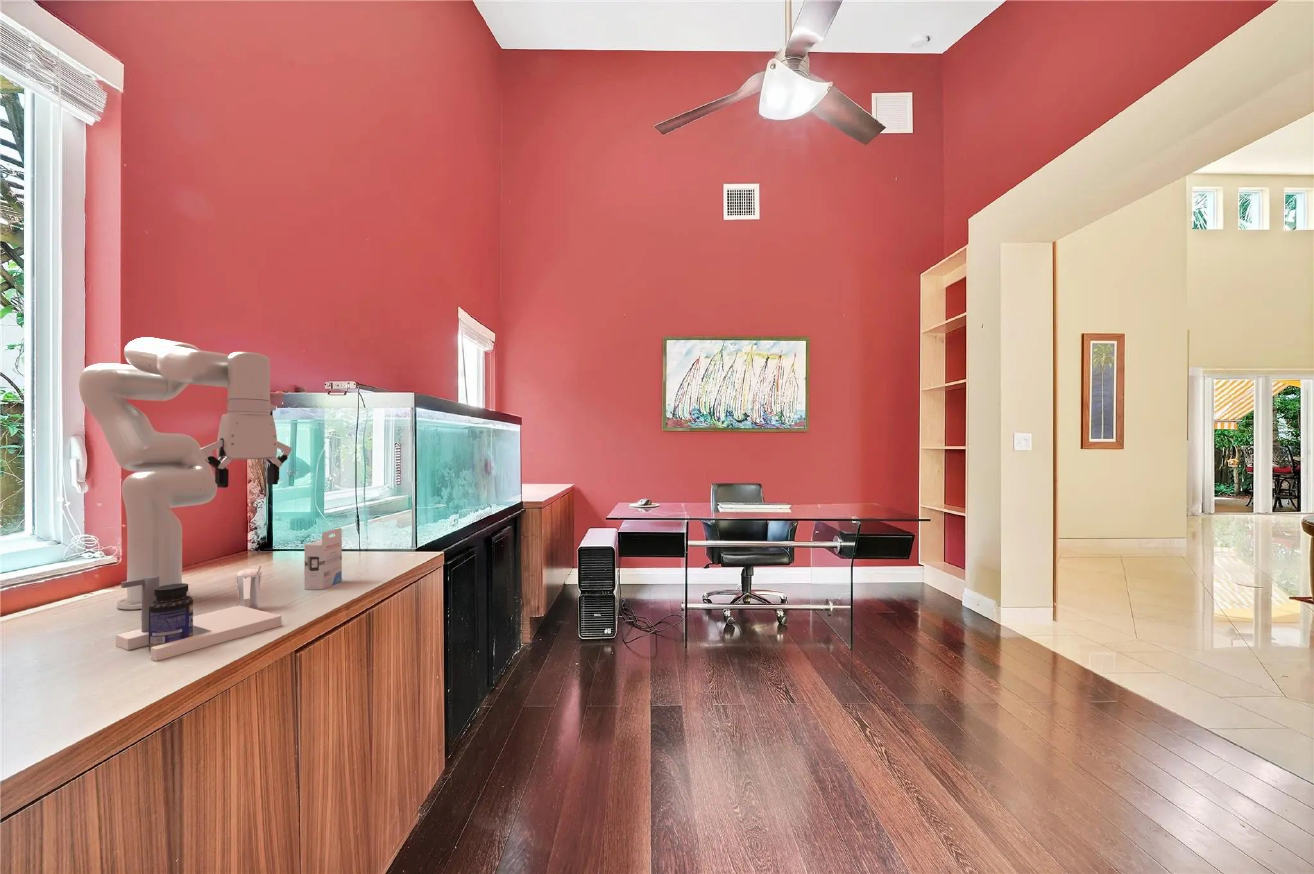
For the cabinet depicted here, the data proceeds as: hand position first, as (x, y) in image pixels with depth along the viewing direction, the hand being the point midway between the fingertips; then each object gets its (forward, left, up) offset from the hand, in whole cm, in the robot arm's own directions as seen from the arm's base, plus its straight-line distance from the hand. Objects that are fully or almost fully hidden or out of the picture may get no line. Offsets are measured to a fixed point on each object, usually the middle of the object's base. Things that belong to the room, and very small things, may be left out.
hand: (248, 485), depth 117 cm
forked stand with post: (+7, -11, -28) cm, 31 cm away
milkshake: (-3, +2, -28) cm, 29 cm away
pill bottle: (+8, -16, -28) cm, 34 cm away
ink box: (-9, +22, -28) cm, 37 cm away
